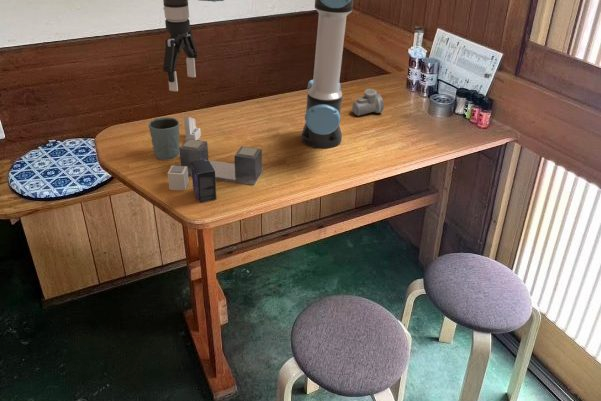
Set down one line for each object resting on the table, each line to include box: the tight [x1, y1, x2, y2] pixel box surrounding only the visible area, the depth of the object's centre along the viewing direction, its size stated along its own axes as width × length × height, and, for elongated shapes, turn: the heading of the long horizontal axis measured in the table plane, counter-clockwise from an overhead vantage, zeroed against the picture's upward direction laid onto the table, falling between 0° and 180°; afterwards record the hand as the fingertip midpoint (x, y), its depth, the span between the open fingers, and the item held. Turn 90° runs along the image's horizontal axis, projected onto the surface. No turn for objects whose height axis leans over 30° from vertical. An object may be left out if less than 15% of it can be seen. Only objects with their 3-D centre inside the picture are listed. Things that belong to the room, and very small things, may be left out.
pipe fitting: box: [351, 88, 385, 117], centre depth 228 cm, size 12×8×10 cm
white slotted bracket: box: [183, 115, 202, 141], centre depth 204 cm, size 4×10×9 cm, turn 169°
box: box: [191, 158, 217, 204], centre depth 171 cm, size 8×6×11 cm
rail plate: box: [179, 139, 264, 186], centre depth 184 cm, size 26×10×9 cm, turn 76°
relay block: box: [167, 165, 190, 191], centre depth 177 cm, size 5×5×6 cm
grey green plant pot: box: [148, 116, 180, 161], centre depth 193 cm, size 10×10×12 cm
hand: (183, 83), depth 186 cm, fingers open, 13 cm apart
